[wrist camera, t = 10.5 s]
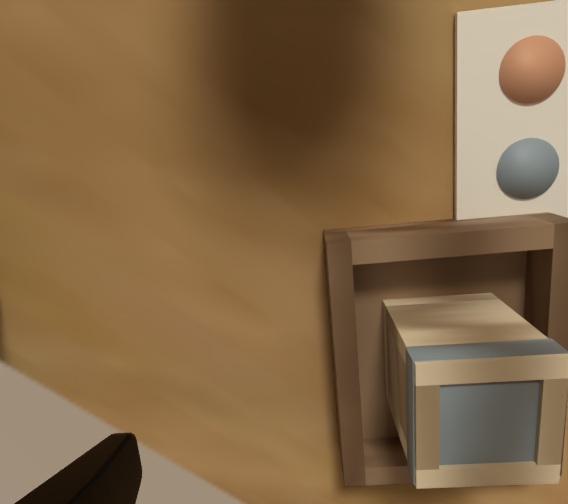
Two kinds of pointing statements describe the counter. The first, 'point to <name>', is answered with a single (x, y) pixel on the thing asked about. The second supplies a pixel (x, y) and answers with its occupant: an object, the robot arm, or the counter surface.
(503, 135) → the card
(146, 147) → the counter surface
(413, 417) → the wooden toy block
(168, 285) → the counter surface
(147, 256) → the counter surface
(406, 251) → the open box
